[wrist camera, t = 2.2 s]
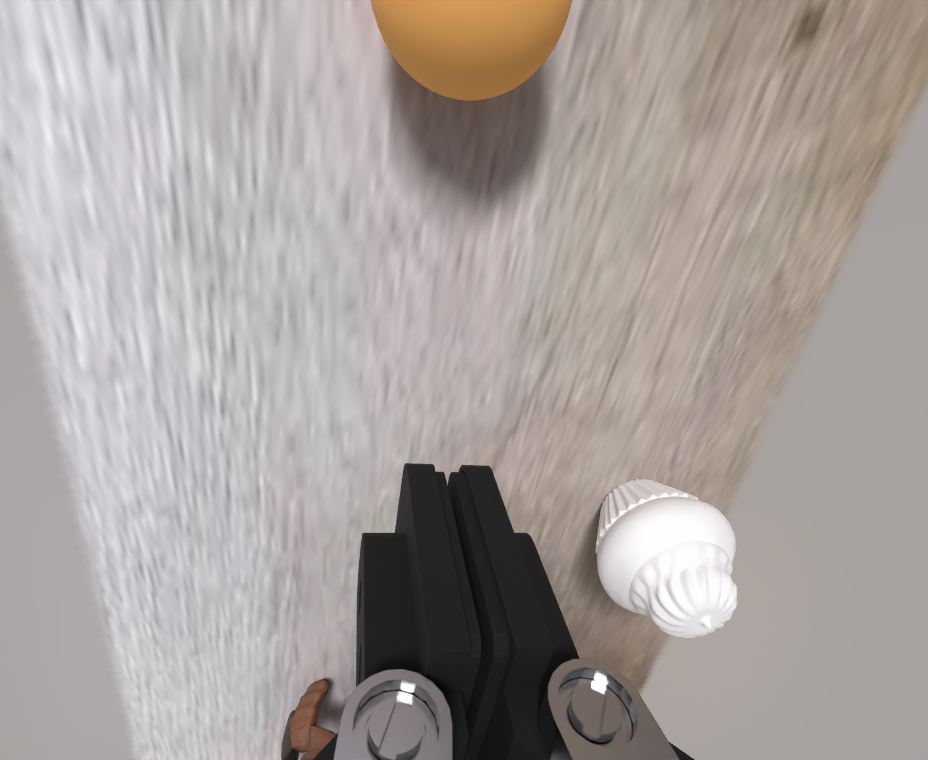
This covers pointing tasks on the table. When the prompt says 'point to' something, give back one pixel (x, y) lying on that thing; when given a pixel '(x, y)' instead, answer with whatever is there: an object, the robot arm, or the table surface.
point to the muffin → (667, 557)
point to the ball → (471, 41)
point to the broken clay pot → (306, 726)
